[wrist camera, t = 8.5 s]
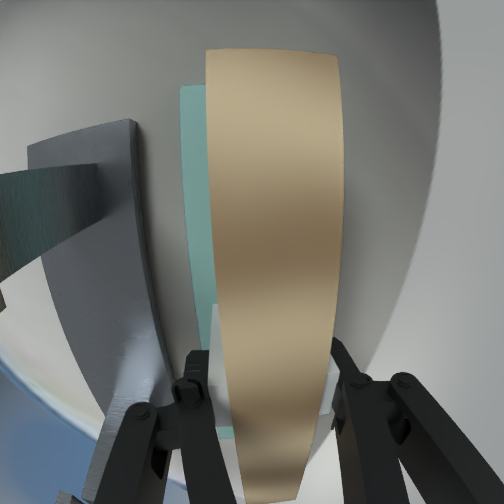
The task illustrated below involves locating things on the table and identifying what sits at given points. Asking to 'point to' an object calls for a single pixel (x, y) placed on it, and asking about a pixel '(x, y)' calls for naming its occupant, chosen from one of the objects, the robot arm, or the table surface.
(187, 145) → the mat
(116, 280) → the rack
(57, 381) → the table surface
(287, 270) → the rail
